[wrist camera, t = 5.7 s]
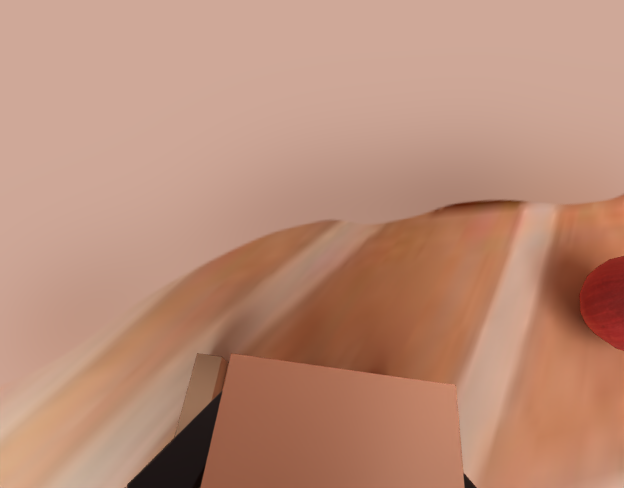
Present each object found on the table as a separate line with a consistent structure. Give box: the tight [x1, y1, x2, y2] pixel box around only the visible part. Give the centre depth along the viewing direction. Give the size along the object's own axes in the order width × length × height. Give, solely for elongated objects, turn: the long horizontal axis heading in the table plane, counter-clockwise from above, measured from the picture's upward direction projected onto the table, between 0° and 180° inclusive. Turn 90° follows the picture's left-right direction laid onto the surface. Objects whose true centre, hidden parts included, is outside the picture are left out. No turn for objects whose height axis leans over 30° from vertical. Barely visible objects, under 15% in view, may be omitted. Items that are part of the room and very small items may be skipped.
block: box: [201, 353, 465, 488], centre depth 9 cm, size 4×4×10 cm
